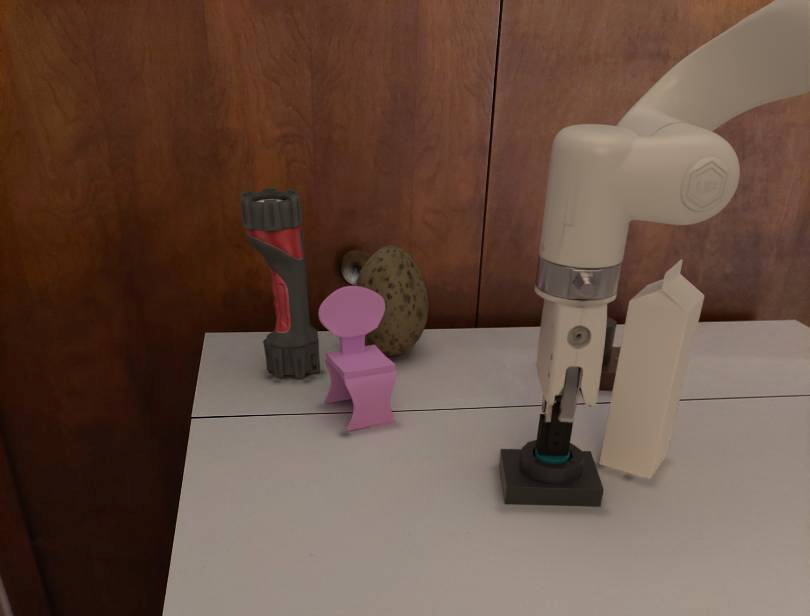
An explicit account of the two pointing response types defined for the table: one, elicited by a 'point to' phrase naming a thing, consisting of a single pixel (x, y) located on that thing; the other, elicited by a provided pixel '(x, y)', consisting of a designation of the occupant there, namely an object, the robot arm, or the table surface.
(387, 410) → the toy chair
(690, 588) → the table surface
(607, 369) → the dial panel
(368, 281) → the decorative egg
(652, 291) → the milk
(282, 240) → the flashlight
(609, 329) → the dial
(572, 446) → the push button base
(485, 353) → the table surface
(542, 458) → the teal push button
